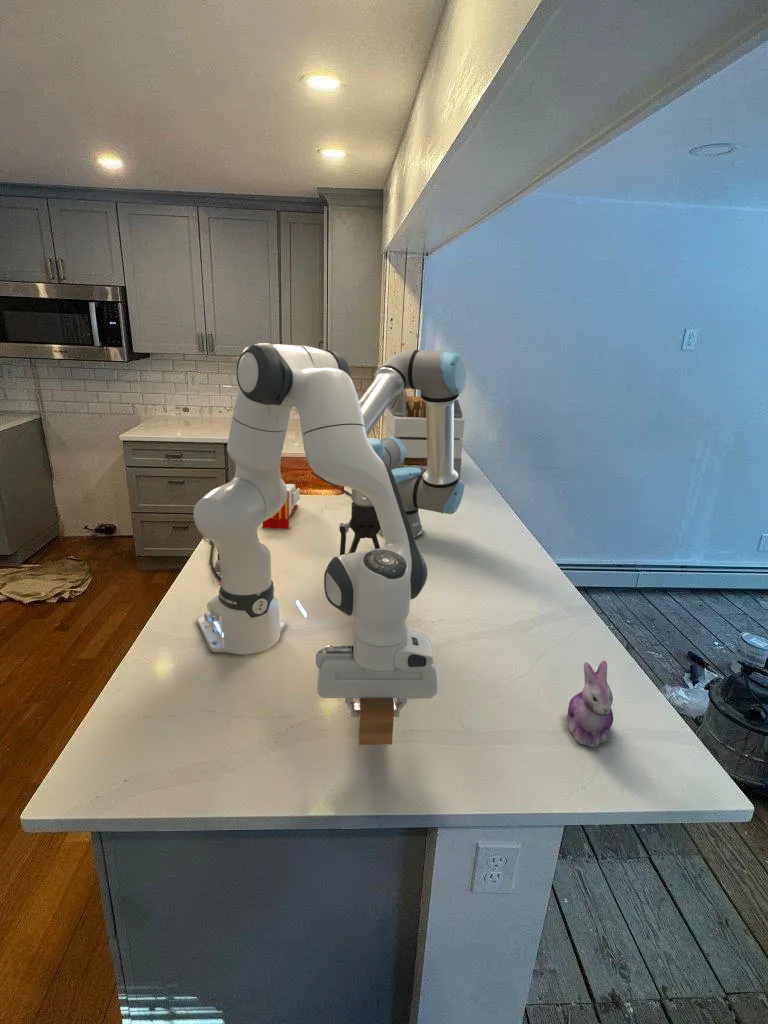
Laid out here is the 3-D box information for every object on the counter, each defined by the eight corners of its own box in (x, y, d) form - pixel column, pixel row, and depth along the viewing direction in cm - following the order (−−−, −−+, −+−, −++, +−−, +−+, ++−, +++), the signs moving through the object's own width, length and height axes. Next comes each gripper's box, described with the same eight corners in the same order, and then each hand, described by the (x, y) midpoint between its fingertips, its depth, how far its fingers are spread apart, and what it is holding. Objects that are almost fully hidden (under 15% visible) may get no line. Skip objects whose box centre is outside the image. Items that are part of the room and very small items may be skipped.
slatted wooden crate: (382, 463, 289) (386, 382, 275) (445, 464, 293) (451, 384, 279) (390, 482, 257) (394, 392, 243) (460, 483, 261) (468, 394, 247)
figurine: (591, 756, 102) (606, 687, 97) (551, 721, 111) (563, 655, 106) (628, 741, 107) (644, 673, 101) (587, 708, 115) (599, 644, 110)
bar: (353, 580, 151) (354, 554, 149) (374, 580, 152) (375, 554, 149) (358, 745, 95) (360, 708, 92) (392, 744, 95) (394, 708, 93)
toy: (301, 479, 224) (291, 492, 194) (301, 512, 226) (291, 530, 197) (270, 478, 223) (256, 491, 194) (271, 511, 226) (256, 529, 197)
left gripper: (315, 657, 90) (313, 727, 94) (442, 658, 91) (435, 727, 96) (316, 635, 95) (315, 702, 100) (436, 636, 97) (429, 702, 102)
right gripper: (328, 506, 135) (328, 593, 143) (406, 507, 137) (401, 592, 145) (328, 496, 142) (328, 579, 150) (403, 497, 144) (398, 579, 152)
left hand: (374, 714), depth 98 cm, fingers closed on bar, 5 cm apart
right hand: (364, 585), depth 147 cm, fingers closed on bar, 6 cm apart
